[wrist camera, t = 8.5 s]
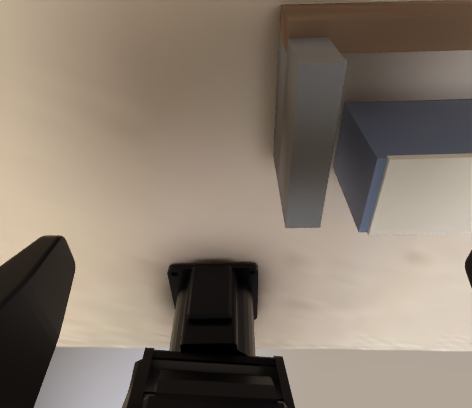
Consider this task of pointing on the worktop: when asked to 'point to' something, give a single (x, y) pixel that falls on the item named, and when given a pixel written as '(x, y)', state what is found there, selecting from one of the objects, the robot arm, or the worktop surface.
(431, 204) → the boxed book
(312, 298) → the worktop surface
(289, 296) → the worktop surface
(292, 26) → the book rack
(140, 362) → the robot arm
